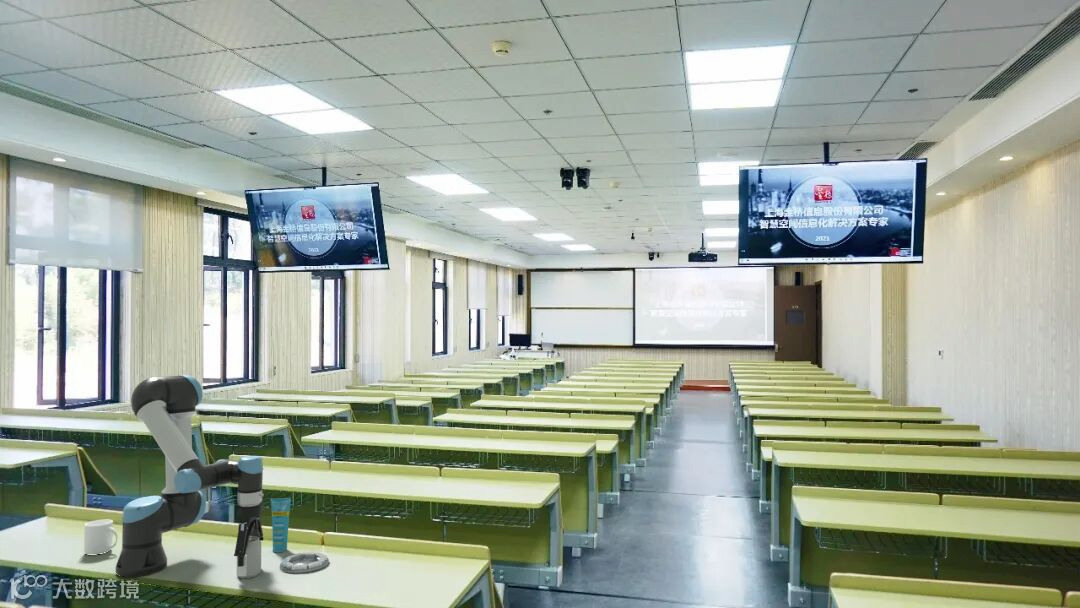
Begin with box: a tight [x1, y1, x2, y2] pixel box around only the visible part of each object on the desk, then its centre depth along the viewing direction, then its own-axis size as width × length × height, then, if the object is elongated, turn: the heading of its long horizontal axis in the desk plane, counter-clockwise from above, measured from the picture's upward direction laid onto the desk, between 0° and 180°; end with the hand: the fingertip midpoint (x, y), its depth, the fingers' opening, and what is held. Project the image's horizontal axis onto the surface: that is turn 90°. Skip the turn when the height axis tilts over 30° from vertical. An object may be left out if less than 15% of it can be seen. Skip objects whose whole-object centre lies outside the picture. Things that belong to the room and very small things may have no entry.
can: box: [238, 536, 262, 579], centre depth 223 cm, size 8×8×12 cm
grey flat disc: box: [279, 551, 330, 575], centre depth 232 cm, size 16×16×2 cm
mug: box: [83, 518, 118, 554], centre depth 245 cm, size 9×12×11 cm
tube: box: [270, 497, 292, 553], centre depth 248 cm, size 7×5×19 cm, turn 98°
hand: (248, 568), depth 223 cm, fingers open, 13 cm apart
